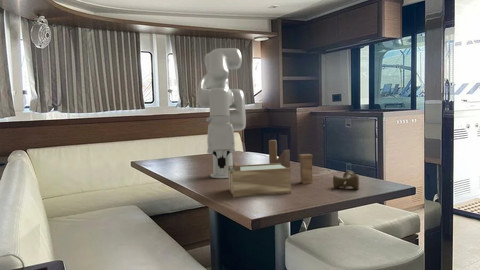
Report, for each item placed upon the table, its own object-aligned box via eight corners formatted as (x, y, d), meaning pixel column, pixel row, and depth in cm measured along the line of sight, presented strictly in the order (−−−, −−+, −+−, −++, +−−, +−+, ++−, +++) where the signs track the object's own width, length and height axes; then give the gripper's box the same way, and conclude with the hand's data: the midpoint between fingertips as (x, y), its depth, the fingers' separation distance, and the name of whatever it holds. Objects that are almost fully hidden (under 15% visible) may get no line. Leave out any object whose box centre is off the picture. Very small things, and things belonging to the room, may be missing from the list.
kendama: (361, 183, 155) (357, 192, 137) (338, 183, 159) (331, 192, 140) (361, 169, 155) (357, 176, 136) (337, 169, 158) (330, 176, 140)
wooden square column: (299, 181, 160) (298, 154, 159) (310, 181, 161) (309, 153, 160) (302, 184, 155) (301, 155, 155) (313, 183, 156) (313, 155, 155)
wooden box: (228, 189, 150) (228, 166, 149) (281, 185, 153) (280, 162, 153) (233, 197, 136) (232, 171, 136) (291, 193, 140) (290, 168, 139)
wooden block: (285, 182, 159) (284, 141, 158) (267, 179, 167) (266, 140, 166) (291, 181, 162) (289, 140, 160) (273, 178, 170) (272, 139, 169)
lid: (230, 169, 148) (230, 162, 148) (280, 166, 151) (279, 159, 151) (234, 174, 137) (233, 166, 137) (287, 170, 140) (287, 163, 140)
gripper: (200, 121, 136) (202, 170, 137) (240, 119, 138) (242, 168, 139) (199, 121, 143) (201, 167, 145) (237, 119, 145) (239, 165, 147)
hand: (221, 167), depth 142 cm, fingers closed
